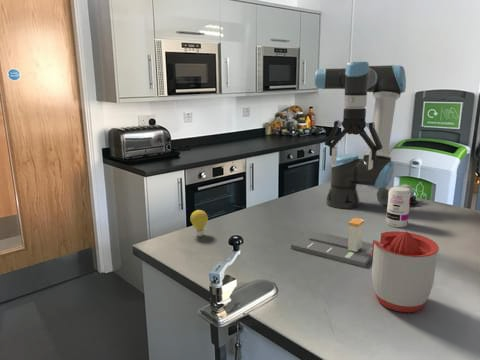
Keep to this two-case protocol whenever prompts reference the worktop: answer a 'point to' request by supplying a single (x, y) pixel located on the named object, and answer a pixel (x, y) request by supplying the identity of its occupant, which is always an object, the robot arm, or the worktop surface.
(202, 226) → the light bulb
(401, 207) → the supplement can
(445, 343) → the worktop surface
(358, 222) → the fader knob
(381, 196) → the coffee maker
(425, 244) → the citrus juicer
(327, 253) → the fader panel
